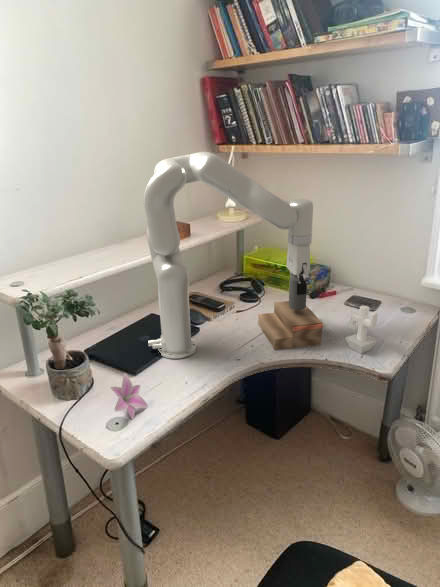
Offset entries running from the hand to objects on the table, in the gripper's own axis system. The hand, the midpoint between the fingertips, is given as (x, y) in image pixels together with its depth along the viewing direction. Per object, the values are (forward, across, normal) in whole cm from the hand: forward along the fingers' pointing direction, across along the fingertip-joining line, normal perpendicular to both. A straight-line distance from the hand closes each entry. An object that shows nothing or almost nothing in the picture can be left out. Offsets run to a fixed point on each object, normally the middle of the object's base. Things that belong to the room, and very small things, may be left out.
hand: (297, 290), depth 154 cm
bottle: (+6, 0, 0) cm, 6 cm away
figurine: (+16, +16, +16) cm, 28 cm away
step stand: (+16, 0, -3) cm, 16 cm away
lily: (+16, +32, -58) cm, 68 cm away
